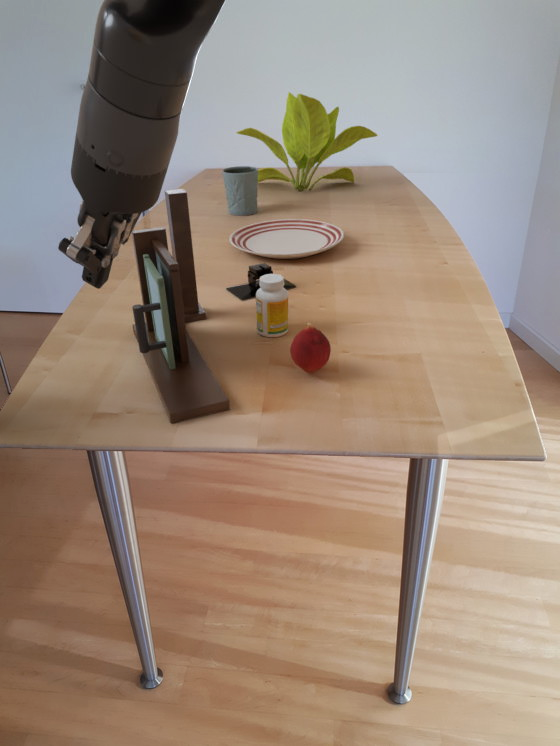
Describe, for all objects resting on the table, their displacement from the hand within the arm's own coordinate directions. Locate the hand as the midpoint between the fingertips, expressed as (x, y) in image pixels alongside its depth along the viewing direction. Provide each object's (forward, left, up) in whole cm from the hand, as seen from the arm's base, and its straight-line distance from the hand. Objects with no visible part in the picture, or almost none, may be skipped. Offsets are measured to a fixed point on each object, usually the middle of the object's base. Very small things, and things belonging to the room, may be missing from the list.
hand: (94, 280), depth 57 cm
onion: (+28, +6, -21) cm, 35 cm away
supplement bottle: (+28, +21, -21) cm, 41 cm away
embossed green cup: (+49, +98, -21) cm, 111 cm away
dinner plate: (+48, +62, -21) cm, 81 cm away
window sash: (+7, +18, -19) cm, 27 cm away
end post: (+16, +33, -21) cm, 42 cm away
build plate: (+33, +40, -21) cm, 56 cm away
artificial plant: (+80, +120, -21) cm, 145 cm away
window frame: (+10, +16, -21) cm, 28 cm away
